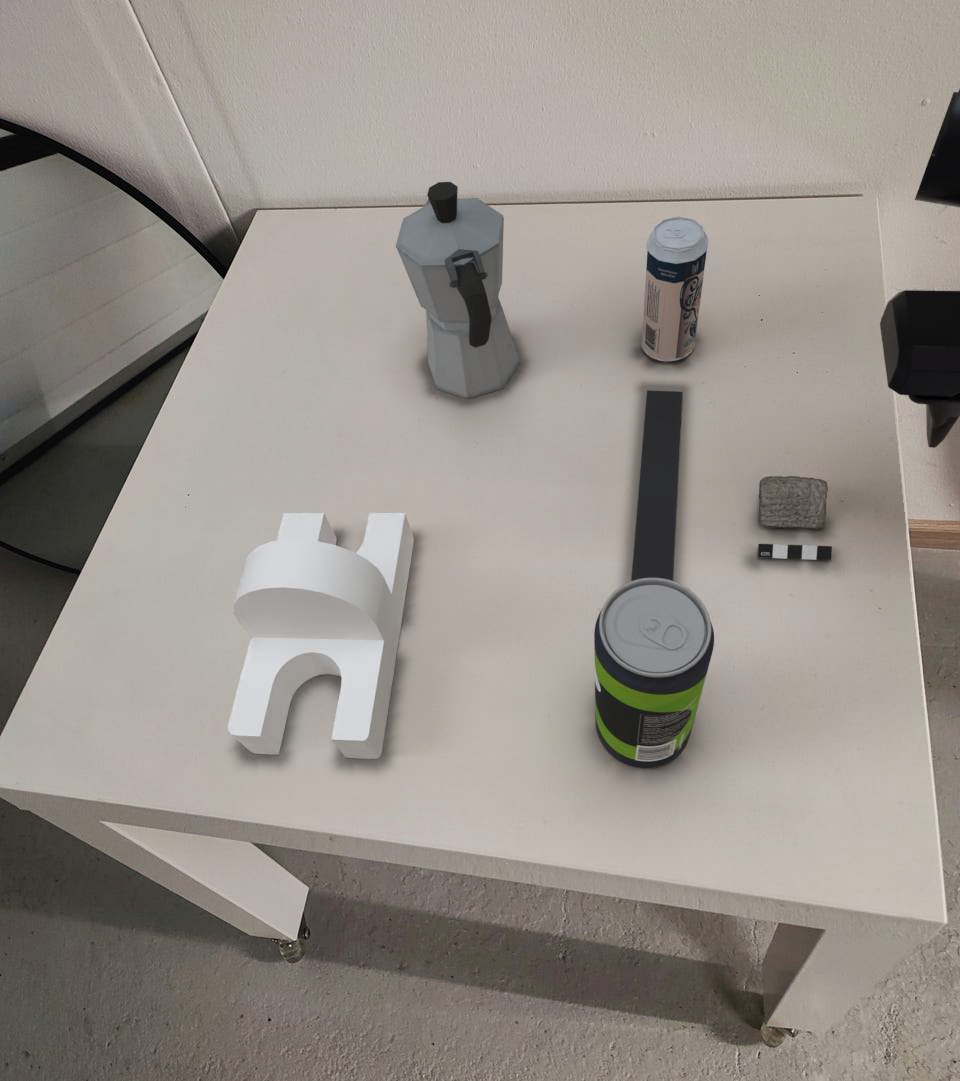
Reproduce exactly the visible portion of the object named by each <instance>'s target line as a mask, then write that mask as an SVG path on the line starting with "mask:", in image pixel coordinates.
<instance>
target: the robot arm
mask: <svg viewBox="0 0 960 1081" xmlns="http://www.w3.org/2000/svg"><path fill="white" fill-rule="evenodd" d="M914 201H920V202H924V203H929V204H931V203H932V204H935V205H937V204H938V205H943V206H948V207H954V208H955V207H956V208H960V88H958V91H953V93H952V95H951V98H950V101H949V104H948V107H947V110H946V112H945V114H944V118H943V120H942V122H941V125H940V129H939V131H938V134H937V136H936V139H935V142H934V145H933V146H932V150H931V153H930V155H929V158H928V161H927V164H926V167H925V170H924V172H923V176H922V178H921V181H920V184H919V187H918V189H917V192H916V195H915V198H914ZM879 330H880V335H881V343H882V352H883V358H884V366H885V375H886V382H887V388H889V389H890V390H892V391H894V392H895V393H896V394H898V395H899V396H907V397H908V398H909V400H910V401H911V402H913V403H915V404H917V405H918V404H919V405H926V406H925V407H926V409H925V410H926V412H925V414H926V416H925V417H926V419H925V420H926V440H927V446H928V448H933V449H934V448H936V447H938V446H939V445H940V444H941V443H942V442H943V441H944V440H945V439H946V437H947V436H948V434H949V433H950V431H951V430H952V429H953V427H954V426H955V424H956V423H957V421H958V420H959V418H960V290H924V289H923V290H916V289H914V290H913V289H912V290H911V289H905V290H901V291H899V292H897V293H896V294H895V295H894V296H893V297H892V298H891V299H890V300H888V301H887V302H886V306H885V308H884V312H883V314H882V317H881V319H880V322H879Z"/></svg>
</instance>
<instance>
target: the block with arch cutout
mask: <svg viewBox="0 0 960 1081" xmlns="http://www.w3.org/2000/svg"><path fill="white" fill-rule="evenodd" d="M365 527H366V528H365V533H364V538H363V541H362V543H361V545H360V547H359V549H358V550H357V551H356V552H354V551H352V550H351V549H347V548H344V547H342V546H338V545H337V540H338V538H337V536H336V533H335V532H334V530H333V527H332V526H331V523H330V522H329V519H328V518H327V516H326V514H325V512H283V513H282V518H281V522H280V526H279V529H278V533H277V537H276V540H272V541H269V542H266V543H262V544H260V545H259V546H257V547H256V548H254V549H252V550H251V551H250V553H249V555H248V556H247V557H246V560H245V562H244V567H243V571H242V574H241V577H240V581H239V585H238V588H237V592H236V595H235V599H234V602H233V615H234V617H235V619H236V621H237V622H238V624H239V625H240V626H241V627H242V628H243V630H244V631H245V632H246V634H248V636H249V637H250V639H249V643H248V647H247V650H246V654H245V658H244V662H243V666H242V670H241V673H240V677H239V681H238V685H237V688H236V693H235V696H234V700H233V704H232V707H231V712H230V716H229V719H228V723H227V730H228V732H229V733H230V734H231V736H232V737H234V738H235V739H236V740H237V741H238V742H239V743H240V744H241V745H243V746H244V747H245V748H246V749H247V750H248V751H249V752H250V753H252V754H255V755H275V756H276V755H277V756H279V755H280V752H281V747H282V743H283V738H284V733H285V729H286V724H287V720H288V715H289V712H290V706H291V703H292V700H293V697H294V695H296V692H297V691H298V689H299V688H301V686H302V685H303V684H304V683H305V682H307V681H309V680H311V679H312V678H315V677H318V676H321V675H332V676H338V677H340V678H341V682H340V690H339V696H338V700H337V706H336V712H335V716H334V723H333V728H332V731H331V738H330V740H331V741H332V742H333V744H334V745H335V746H336V748H337V749H338V750H339V751H340V752H341V754H343V756H344V757H345V758H346V759H365V760H366V759H367V760H378V759H379V758H381V757H382V753H383V748H384V741H385V734H386V728H387V722H388V714H389V710H390V709H389V707H390V702H391V695H392V688H393V682H394V676H395V668H396V661H397V655H398V648H399V643H400V642H399V641H400V635H401V629H402V628H401V627H402V622H403V616H404V615H403V614H404V609H405V602H406V596H407V590H408V589H407V588H408V583H409V575H410V571H411V570H410V569H411V562H412V557H413V551H414V550H413V549H414V543H415V537H414V534H413V532H412V529H411V526H410V523H409V520H408V517H407V514H406V512H368V517H367V522H366V526H365Z"/></svg>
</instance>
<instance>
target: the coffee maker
mask: <svg viewBox="0 0 960 1081" xmlns="http://www.w3.org/2000/svg"><path fill="white" fill-rule="evenodd" d="M458 188H459V187H458V185H457V184H455V183H453V182H452V181H438V182H436V183H434V184H433V185H431V186H430V187H428V190H427V195H426V196H427V200H426V201H425V204H424V205H423V206H422V207H421V208H419V209H417V210H416V211H414V212H412V213H410V214H409V215H407V216H405V217H404V218H402V222H401V225H400V228H399V232H398V235H397V240H396V243H395V248H396V249H397V253H398V255H399V257H400V259H401V262H402V264H403V266H404V269H405V271H406V274H407V277H408V279H409V282H410V284H411V286H412V288H413V291H414V293H415V296H416V298H417V301H418V303H419V305H420V307H421V308H423V309H424V310H425V314H426V318H425V319H426V341H427V343H426V344H427V366H428V368H429V372H430V374H431V377H432V380H433V383H434V386H435V388H436V389H437V390H440V391H442V392H446V393H449V394H451V395H454V396H457V397H459V398H463V399H466V400H470V399H473V398H477V397H480V396H484V395H488V394H490V393H494V392H497V391H501V390H504V388H505V387H506V386H507V385H508V383H509V381H510V380H511V379H512V377H513V376H514V374H515V373H516V371H517V370H518V369H519V367H520V366H521V361H520V358H519V354H518V352H517V349H516V346H515V342H514V340H513V336H512V332H511V330H510V326H509V324H508V320H507V318H506V313H505V312H504V308H503V306H502V303H501V300H500V297H499V294H500V291H501V287H502V284H503V263H504V261H503V259H504V230H505V229H504V227H505V226H504V225H505V224H504V222H505V218H504V215H503V214H502V213H500V212H499V211H497V210H496V209H495V208H493V207H492V206H490V205H488V204H487V203H486V202H484V201H482V200H481V199H480V198H478V197H469V198H468V197H465V198H463V197H462V198H458V192H459V191H458V190H459V189H458Z"/></svg>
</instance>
